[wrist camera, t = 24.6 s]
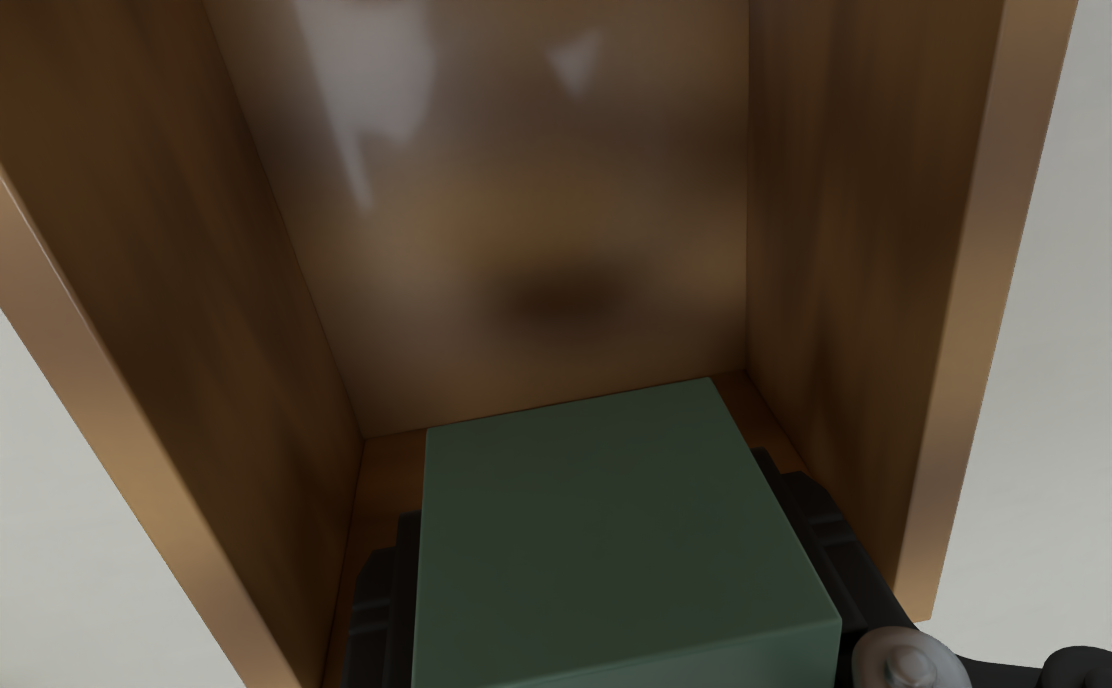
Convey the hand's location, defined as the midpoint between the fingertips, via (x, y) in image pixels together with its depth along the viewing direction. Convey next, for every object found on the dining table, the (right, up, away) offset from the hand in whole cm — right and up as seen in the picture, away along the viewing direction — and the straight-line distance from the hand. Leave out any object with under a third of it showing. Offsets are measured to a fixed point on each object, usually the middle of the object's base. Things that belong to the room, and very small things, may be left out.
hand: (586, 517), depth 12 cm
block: (0, 0, 0) cm, 0 cm away
